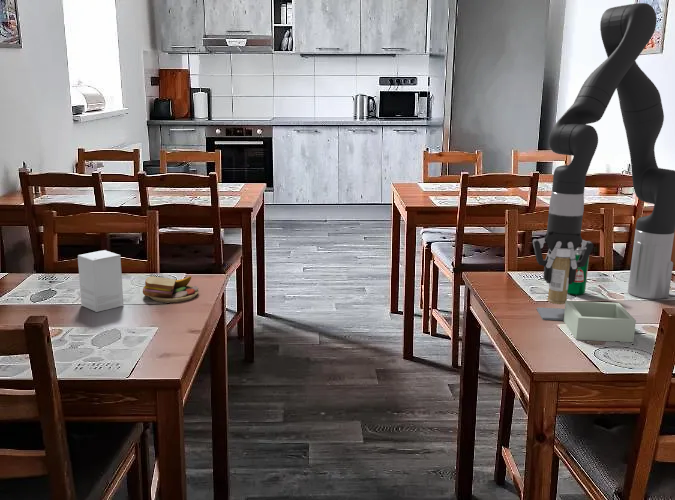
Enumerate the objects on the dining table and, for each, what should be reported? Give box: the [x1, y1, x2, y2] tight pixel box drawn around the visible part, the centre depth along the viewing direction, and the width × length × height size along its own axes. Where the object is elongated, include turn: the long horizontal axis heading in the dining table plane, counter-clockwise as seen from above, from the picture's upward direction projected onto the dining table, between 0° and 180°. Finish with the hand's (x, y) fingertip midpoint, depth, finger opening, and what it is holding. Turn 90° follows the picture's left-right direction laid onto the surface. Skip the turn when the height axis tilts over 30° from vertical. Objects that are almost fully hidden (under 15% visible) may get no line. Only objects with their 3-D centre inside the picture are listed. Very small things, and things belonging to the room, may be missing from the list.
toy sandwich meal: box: [142, 275, 199, 303], centre depth 175 cm, size 12×14×5 cm
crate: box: [563, 300, 637, 343], centre depth 155 cm, size 12×12×5 cm
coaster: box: [536, 307, 565, 322], centre depth 166 cm, size 8×8×1 cm
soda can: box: [567, 246, 590, 296], centre depth 183 cm, size 5×5×12 cm
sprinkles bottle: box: [546, 248, 572, 305], centre depth 164 cm, size 5×5×13 cm
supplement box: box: [77, 249, 124, 313], centre depth 165 cm, size 7×7×13 cm
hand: (558, 282), depth 164 cm, fingers closed on sprinkles bottle, 4 cm apart
